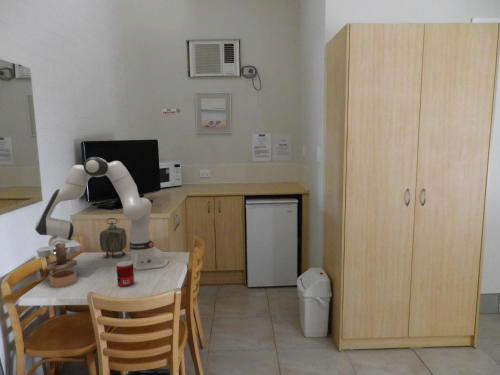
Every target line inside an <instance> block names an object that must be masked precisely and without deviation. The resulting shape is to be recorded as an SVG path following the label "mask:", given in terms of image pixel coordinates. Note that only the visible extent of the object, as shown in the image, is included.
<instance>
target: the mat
mask: <svg viewBox="0 0 500 375" xmlns="http://www.w3.org/2000/svg"><path fill="white" fill-rule="evenodd" d="M99 269H100V266H92V267H90V266H89V267H88V266H87V267H86V266H85V267H84V266H83V267H71V268H69V270H74V271H76V277H77V278H89V277H91V276H92V275H93V274H94V273H95V272H97V271H98V270H99Z"/></svg>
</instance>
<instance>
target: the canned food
mask: <svg viewBox="0 0 500 375" xmlns="http://www.w3.org/2000/svg"><path fill="white" fill-rule="evenodd" d="M134 271H135V270H134V268H133V262H132V261H130V260H124V261H120V262H117V263H116V278H117V279H116V280H117V286H118V287H121V288H125V287H131V286H132V285H134V283H135V276H134V275H135V274H134Z"/></svg>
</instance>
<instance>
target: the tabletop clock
mask: <svg viewBox="0 0 500 375" xmlns="http://www.w3.org/2000/svg"><path fill="white" fill-rule="evenodd" d="M109 220H115V221H116V222H113V221H111V222H108V221H109ZM106 224H108V225H109V226H108V227H107V228H105V229H104V230H102V231H100V234H99V245H100V250H101V251H102V252H104V253H105V255H106V256H108V255H109V253H112V255H111V257H112V258H115V255H114V253H119V252H121V253H122V255H123V256H125V255H126V252H124V251H123V250H124V249H125V248H127V245H128V244H127V242H128V238H127V232H126V229H125V228H123V227H117V224H118V219H117V218H115V217H108V218H107V219H106Z"/></svg>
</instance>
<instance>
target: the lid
mask: <svg viewBox="0 0 500 375" xmlns="http://www.w3.org/2000/svg"><path fill="white" fill-rule="evenodd" d="M55 247H56V256H55V257H56V260H54V261H52V262H49V263H47V264H46V265H45V268H46V270H47V271H48V270H49V271H63V270H69V269H71V268H75V266H77V265H78V261H77V260H76V259H71V258H70V259H67V254H66V250H65V244H57V245H55Z"/></svg>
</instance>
